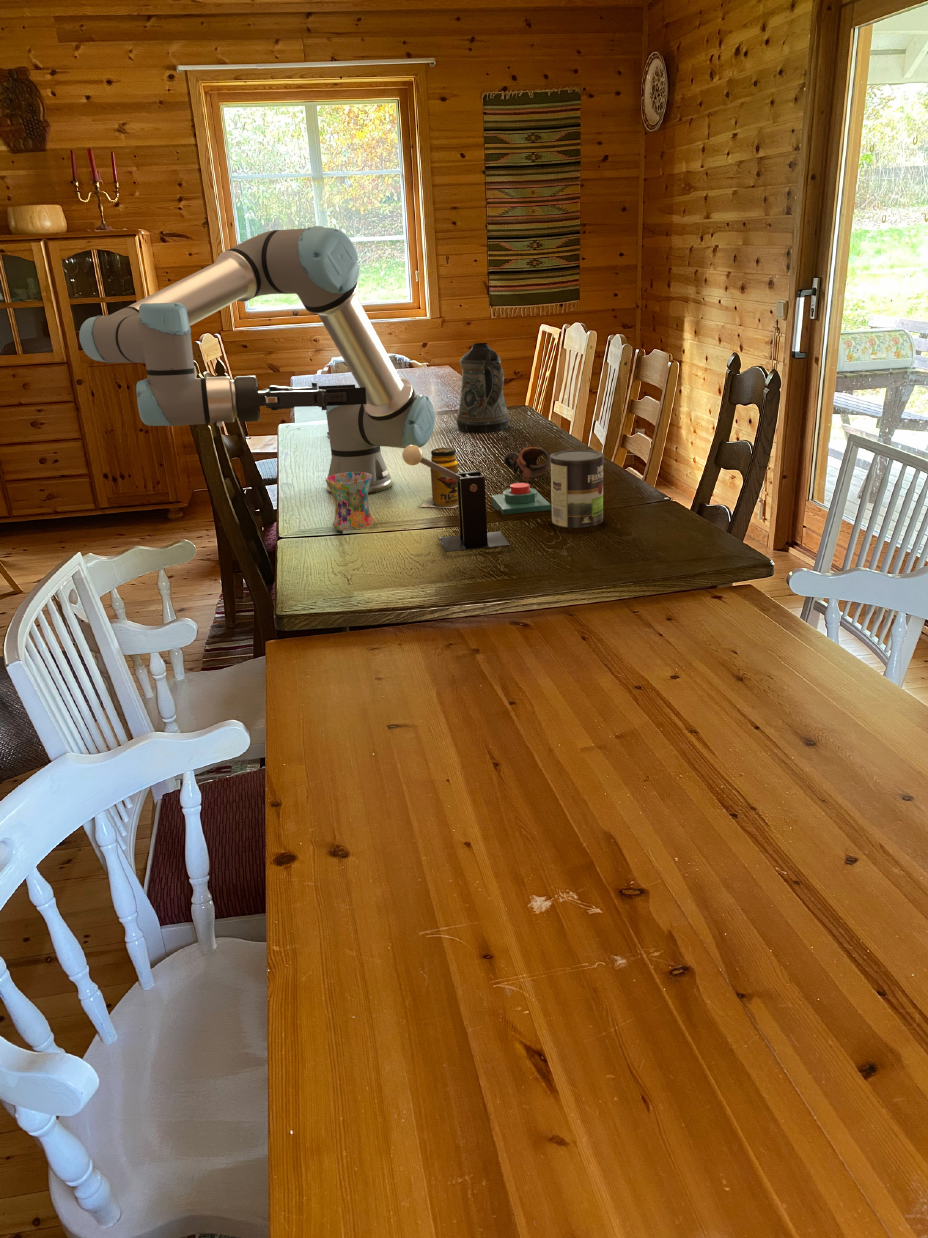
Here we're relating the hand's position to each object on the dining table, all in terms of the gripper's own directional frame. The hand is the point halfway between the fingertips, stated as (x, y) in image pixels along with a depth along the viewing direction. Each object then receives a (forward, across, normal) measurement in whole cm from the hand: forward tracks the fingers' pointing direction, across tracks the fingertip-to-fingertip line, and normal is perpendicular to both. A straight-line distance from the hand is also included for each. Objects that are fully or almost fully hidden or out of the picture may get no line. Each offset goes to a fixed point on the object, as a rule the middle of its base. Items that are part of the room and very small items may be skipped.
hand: (360, 393), depth 159 cm
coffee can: (+42, -5, -28) cm, 50 cm away
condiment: (+21, -33, -26) cm, 47 cm away
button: (+35, -20, -23) cm, 46 cm away
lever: (+13, +1, -15) cm, 20 cm away
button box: (+35, -21, -26) cm, 48 cm away
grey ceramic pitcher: (+53, -113, -18) cm, 126 cm away
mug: (0, -24, -28) cm, 36 cm away
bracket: (+19, 0, -29) cm, 35 cm away
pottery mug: (+45, -47, -24) cm, 69 cm away
